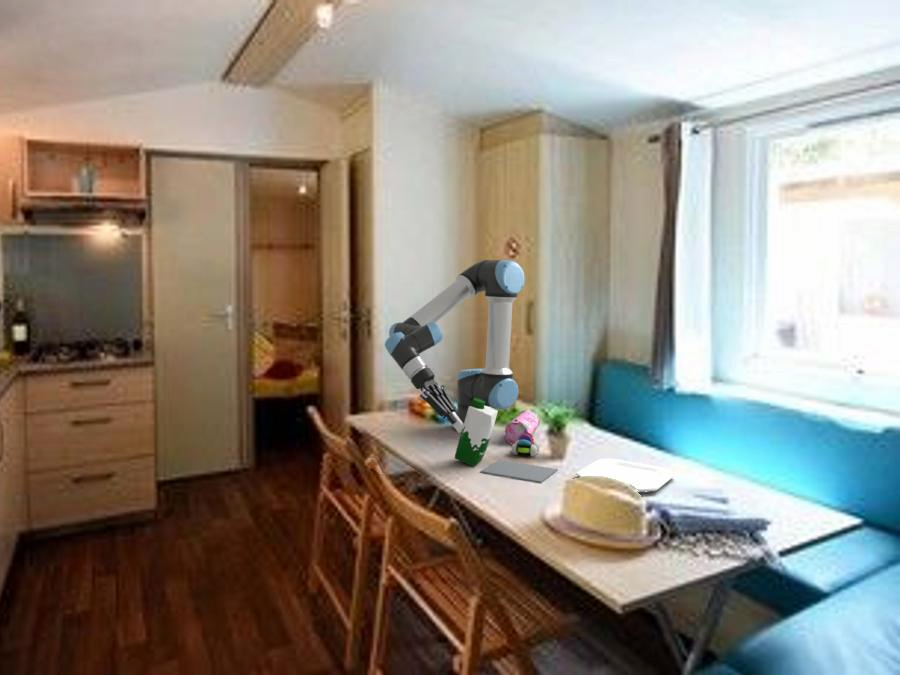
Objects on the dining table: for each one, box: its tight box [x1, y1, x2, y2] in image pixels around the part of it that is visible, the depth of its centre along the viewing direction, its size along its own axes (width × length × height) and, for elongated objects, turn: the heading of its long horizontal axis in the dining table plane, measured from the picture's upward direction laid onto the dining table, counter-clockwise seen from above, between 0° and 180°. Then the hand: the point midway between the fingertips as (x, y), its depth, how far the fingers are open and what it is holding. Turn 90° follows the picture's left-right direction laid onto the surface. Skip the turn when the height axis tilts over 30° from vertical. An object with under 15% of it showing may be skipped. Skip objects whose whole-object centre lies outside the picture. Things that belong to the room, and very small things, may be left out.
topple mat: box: [479, 459, 559, 484], centre depth 218 cm, size 20×14×1 cm
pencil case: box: [504, 409, 541, 445], centre depth 258 cm, size 21×9×9 cm, turn 160°
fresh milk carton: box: [454, 398, 499, 467], centre depth 224 cm, size 9×9×20 cm
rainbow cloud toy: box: [511, 432, 541, 457], centre depth 238 cm, size 8×10×7 cm
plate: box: [575, 458, 676, 493], centre depth 212 cm, size 25×25×2 cm
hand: (462, 430), depth 225 cm, fingers closed
